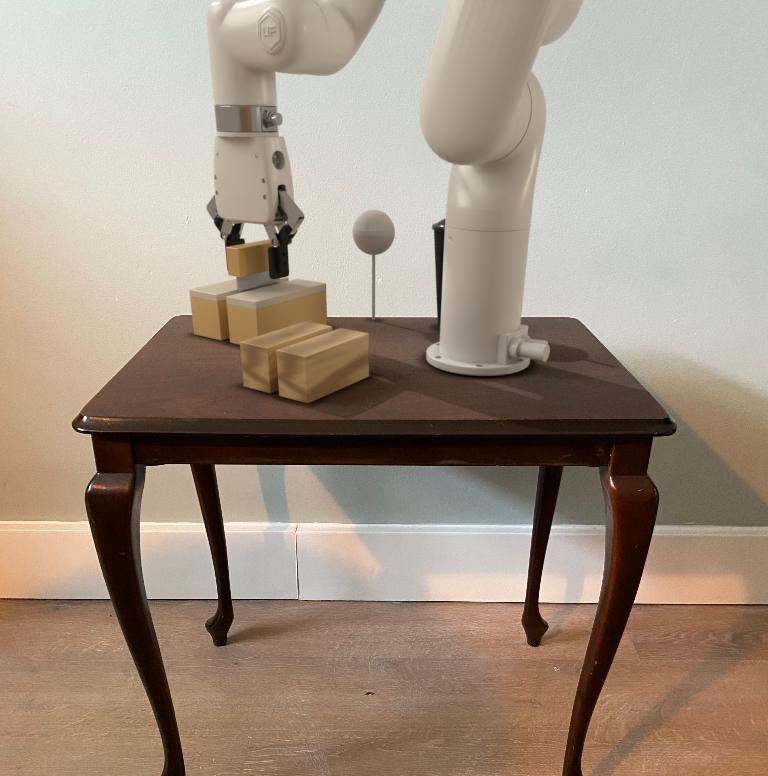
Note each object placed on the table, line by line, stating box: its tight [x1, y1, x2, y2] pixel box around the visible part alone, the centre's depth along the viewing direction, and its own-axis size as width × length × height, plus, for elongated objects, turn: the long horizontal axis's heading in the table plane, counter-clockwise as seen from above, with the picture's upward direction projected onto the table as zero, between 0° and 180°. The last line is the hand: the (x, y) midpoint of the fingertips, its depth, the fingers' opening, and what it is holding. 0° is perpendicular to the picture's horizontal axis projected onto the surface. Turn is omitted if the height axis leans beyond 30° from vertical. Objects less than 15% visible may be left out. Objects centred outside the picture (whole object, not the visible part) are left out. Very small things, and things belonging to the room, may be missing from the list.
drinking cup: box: [431, 217, 446, 330], centre depth 98 cm, size 8×8×20 cm
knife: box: [225, 238, 281, 293], centre depth 98 cm, size 2×9×12 cm, turn 146°
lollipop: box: [351, 209, 396, 321], centre depth 103 cm, size 6×6×15 cm
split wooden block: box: [239, 321, 370, 404], centre depth 81 cm, size 9×11×5 cm
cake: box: [188, 276, 328, 346], centre depth 100 cm, size 12×14×6 cm
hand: (258, 273), depth 97 cm, fingers open, 7 cm apart
